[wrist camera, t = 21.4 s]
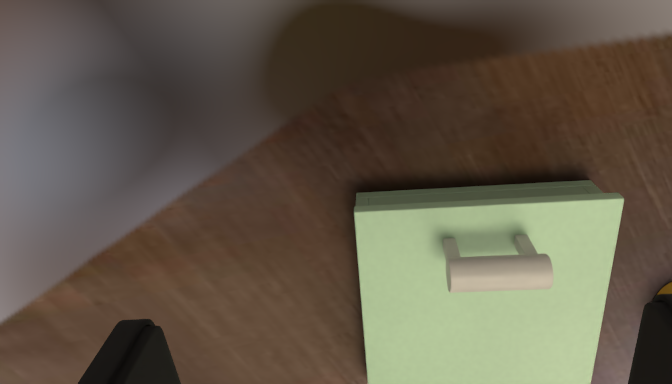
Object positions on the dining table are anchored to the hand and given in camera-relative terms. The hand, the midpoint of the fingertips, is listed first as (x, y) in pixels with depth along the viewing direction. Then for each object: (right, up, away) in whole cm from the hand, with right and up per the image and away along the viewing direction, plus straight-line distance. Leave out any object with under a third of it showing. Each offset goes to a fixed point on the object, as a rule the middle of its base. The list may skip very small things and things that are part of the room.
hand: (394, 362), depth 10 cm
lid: (+8, -4, +22) cm, 24 cm away
